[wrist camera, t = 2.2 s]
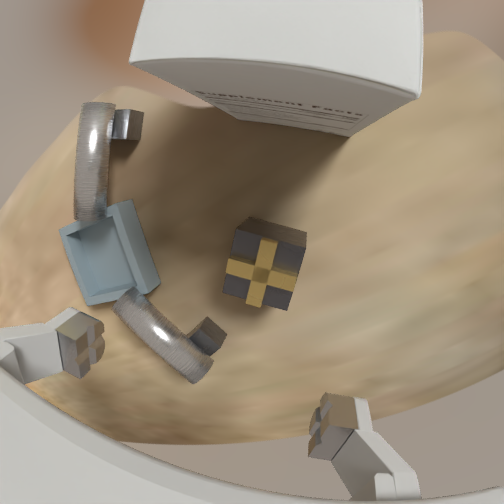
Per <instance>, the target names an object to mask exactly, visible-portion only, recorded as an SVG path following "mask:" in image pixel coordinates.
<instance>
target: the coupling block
mask: <svg viewBox="0 0 504 504" xmlns="http://www.w3.org/2000/svg"><path fill="white" fill-rule="evenodd" d="M306 237H307V232H304V231H300V230H297V229H293V228H289V227H286V226H282V225H278V224H274V223H271V222H267V221H263V220H259V219H256V218H252V217H249V218H248V219H246V220H245V221H244V222H243V223H242V224H241V225H240V226H239V227H238V228H237V229H236V231H235V236H234V240H233V245H232V250H231V254H230V257H229V258H228V263H227V267H226V272H225V273H226V278H225V283H224V288H223V293H226V294H230V295H233V296H236V297H240V298H243V299H246V303H245V304H249V305H252V306H256V307H259V308H260V307H261V304H264V305H268V306H271V307H275V308H278V309H282V310H286V311H287V309H288V306H289V303H290V300H291V297H292V293H293V290H294V287H295V284H296V280H297V277H298V274H299V270H300V267H301V264H302V260H303V257H304V253H305V250H306Z"/></svg>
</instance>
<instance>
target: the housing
mask: <svg viewBox="0 0 504 504" xmlns="http://www.w3.org/2000/svg"><path fill="white" fill-rule="evenodd" d="M59 232H60V235H61V239H62V242H63V244H64V247H65V250H66V253H67V256H68V259H69V261H70V264H71V267H72V269H73V272H74V275H75V277H76V280H77V282H78V285H79V287H80V290H81V292H82V294H83V297H84V299H85V301H86V304H87V306H90V305H95V304H100V303H105V302H110V301H114V300H118V299H119V298H120V297H121V296H122V295H123V294H124V293H125V292H126V291H127V290H128V289H129V288H131V287H132V286H135V287H136V288H137V289H138V290H139V292H140V293H141V294H142V295H143V294H147V293H150V292H151V291H152V290H153V289H154V288H155V287H157V286H158V285H159V284H160V283H161V281H160V278H159V276H158V273H157V270H156V268H155V265H154V262H153V260H152V257H151V254H150V251H149V248H148V246H147V243H146V240H145V237H144V234H143V231H142V228H141V225H140V222H139V219H138V216H137V213H136V210H135V207H134V204H133V200H132V199H130V200H127V201H123V202H119V203H116V204H113V205H111V206H109V207H107V208H106V218H105V219H103V220H99V221H76V222H74V223H72V224H70V225H68V226H66V227H63V228H61V229H59Z"/></svg>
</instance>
